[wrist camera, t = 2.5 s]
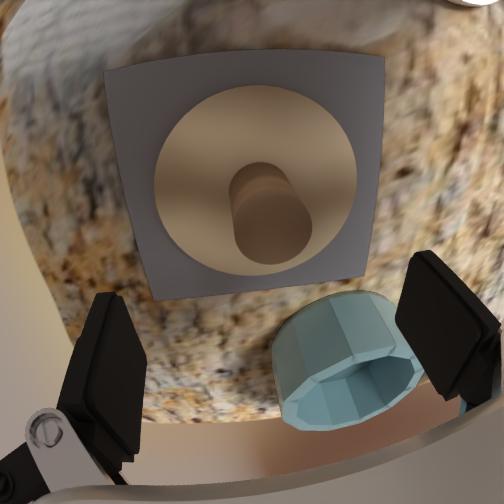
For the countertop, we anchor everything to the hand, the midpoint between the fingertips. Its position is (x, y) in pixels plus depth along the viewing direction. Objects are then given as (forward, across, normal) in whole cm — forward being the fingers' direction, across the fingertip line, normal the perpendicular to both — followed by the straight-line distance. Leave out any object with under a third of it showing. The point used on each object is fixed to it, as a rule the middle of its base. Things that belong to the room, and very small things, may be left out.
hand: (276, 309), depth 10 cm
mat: (+9, -1, -1) cm, 9 cm away
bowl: (+9, -7, +13) cm, 17 cm away
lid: (+8, -1, -1) cm, 8 cm away
